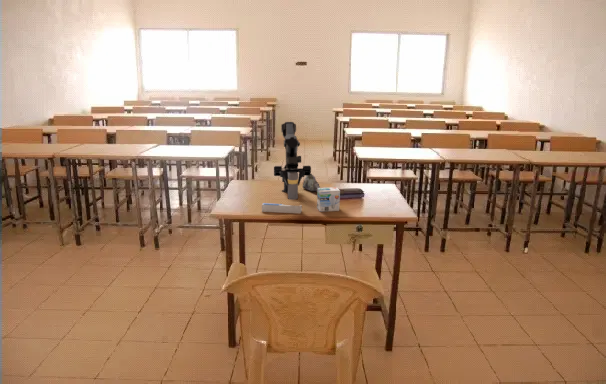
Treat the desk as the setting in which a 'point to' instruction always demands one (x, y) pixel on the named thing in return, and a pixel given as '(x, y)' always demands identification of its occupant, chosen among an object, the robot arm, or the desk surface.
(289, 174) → the grey banded capsule
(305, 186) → the mineral rock
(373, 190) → the desk surface
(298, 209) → the white blue striped bracket
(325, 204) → the light bulb box
